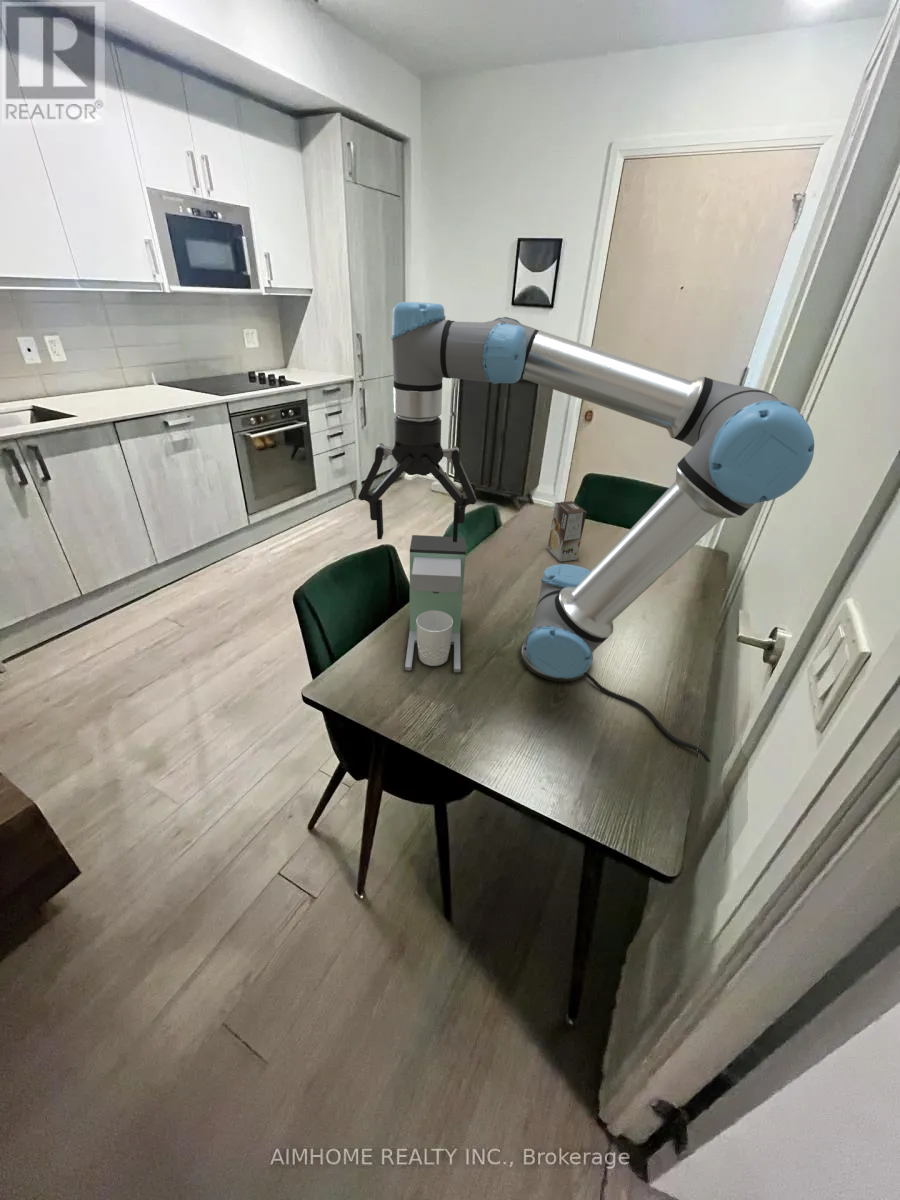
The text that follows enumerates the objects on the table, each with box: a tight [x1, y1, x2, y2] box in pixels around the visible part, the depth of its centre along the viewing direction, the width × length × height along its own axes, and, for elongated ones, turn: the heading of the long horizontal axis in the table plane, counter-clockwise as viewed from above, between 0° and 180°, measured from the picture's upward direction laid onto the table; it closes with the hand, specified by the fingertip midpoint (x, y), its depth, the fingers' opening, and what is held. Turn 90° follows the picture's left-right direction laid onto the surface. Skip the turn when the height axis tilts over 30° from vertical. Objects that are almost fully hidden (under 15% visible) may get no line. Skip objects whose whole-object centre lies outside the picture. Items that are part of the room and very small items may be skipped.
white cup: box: [416, 610, 453, 667], centre depth 107 cm, size 8×8×10 cm
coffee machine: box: [404, 534, 467, 673], centre depth 107 cm, size 20×12×23 cm, turn 0°
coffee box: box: [547, 500, 588, 562], centre depth 150 cm, size 9×6×16 cm
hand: (417, 537), depth 89 cm, fingers open, 13 cm apart
